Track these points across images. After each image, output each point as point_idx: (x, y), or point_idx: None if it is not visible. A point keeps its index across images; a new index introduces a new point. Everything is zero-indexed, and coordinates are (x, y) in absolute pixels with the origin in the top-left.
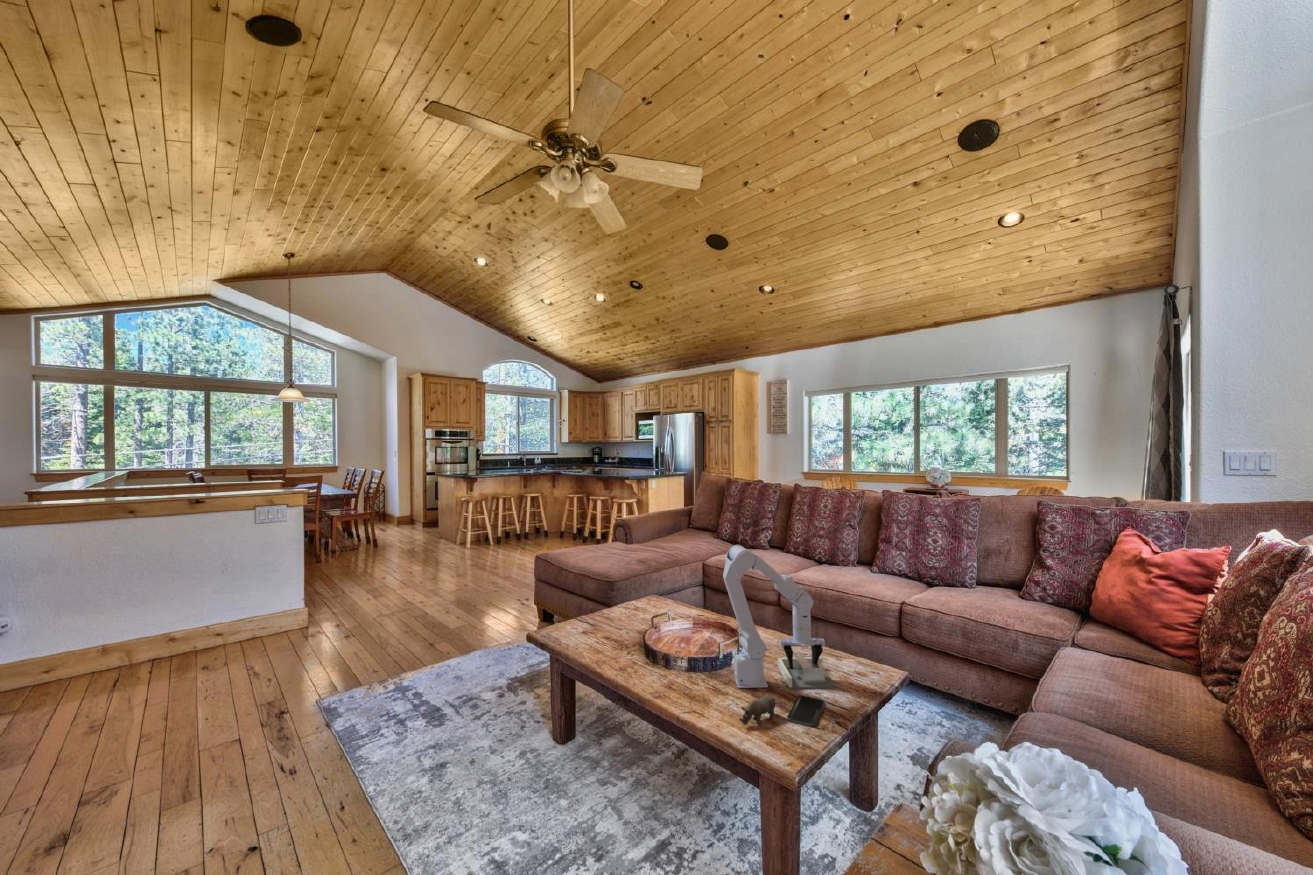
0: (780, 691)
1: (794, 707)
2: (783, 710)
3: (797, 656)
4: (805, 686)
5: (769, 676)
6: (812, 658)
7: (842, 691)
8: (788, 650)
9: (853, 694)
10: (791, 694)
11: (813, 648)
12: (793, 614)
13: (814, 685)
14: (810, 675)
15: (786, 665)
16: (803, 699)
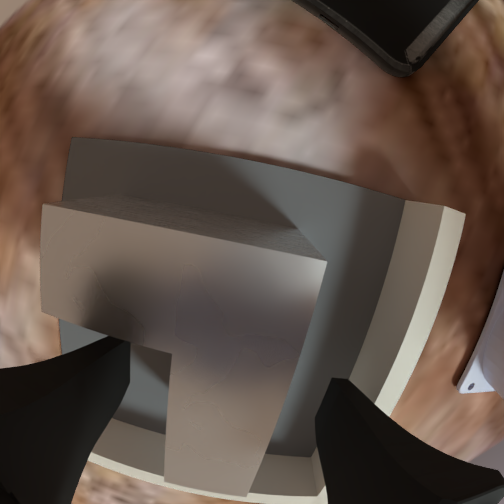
0: (472, 195)
1: (463, 2)
2: (499, 29)
3: (225, 491)
4: (303, 179)
5: (424, 387)
6: (99, 425)
7: (72, 94)
8: (488, 498)
9: (45, 61)
10: (433, 134)
11: (34, 489)
12: None
13: (218, 178)
14: (226, 225)
15: (280, 463)
16: (398, 30)
